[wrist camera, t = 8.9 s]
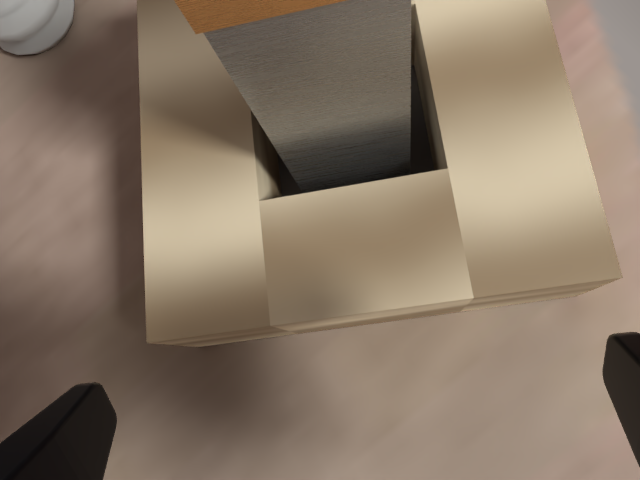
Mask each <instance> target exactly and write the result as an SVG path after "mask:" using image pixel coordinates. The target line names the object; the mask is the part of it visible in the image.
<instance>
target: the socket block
mask: <svg viewBox="0 0 640 480" xmlns="http://www.w3.org/2000/svg"><path fill="white" fill-rule="evenodd" d="M137 24H138V60H139V95H140V131H141V167H142V203H143V239H144V275H145V310H146V343H152V344H165V345H177V346H190V347H203V346H211V345H218V344H225V343H233V342H240V341H248V340H255V339H263V338H270V337H277V336H285V335H292V334H300V333H307V332H315V331H322V330H330V329H337V328H344V327H352V326H359V325H367V324H374V323H382V322H389V321H396V320H404V319H411V318H419V317H426V316H434V315H441V314H449V313H456V312H463V311H471V310H478V309H486V308H493V307H501V306H508V305H515V304H523V303H530V302H538V301H545V300H553V299H560V298H567V297H575V296H578V295H581V294H583V293H586V292H588V291H591V290H593V289H596V288H598V287H600V286H603V285H605V284H608V283H610V282H613V281H615V280H618V279H620V278H623V277H622V273H621V269H620V266H619V262H618V259H617V255H616V252H615V248H614V244H613V241H612V237H611V234H610V230H609V226H608V223H607V219H606V216H605V212H604V208H603V205H602V201H601V198H600V194H599V191H598V187H597V183H596V180H595V176H594V173H593V169H592V165H591V162H590V158H589V155H588V151H587V147H586V144H585V140H584V137H583V133H582V130H581V126H580V122H579V119H578V115H577V112H576V108H575V104H574V101H573V97H572V94H571V90H570V86H569V83H568V79H567V76H566V72H565V69H564V65H563V61H562V58H561V54H560V51H559V47H558V43H557V40H556V36H555V33H554V29H553V25H552V22H551V18H550V15H549V11H548V8H547V4H546V0H411V137H410V175H407V176H401V177H395V178H389V179H384V180H378V181H372V182H366V183H361V184H355V185H349V186H343V187H337V188H332V189H326V190H320V191H314V192H309V193H302V191H301V189H300V188H299V186H298V184H297V183H296V181H295V180H294V178H293V176H292V175H291V173H290V172H289V170H288V168H287V167H286V165H285V164H284V162H283V160H282V159H281V157H280V156H279V154H278V152H277V151H276V149H275V147H274V146H273V144H272V143H271V141H270V139H269V138H268V136H267V135H266V133H265V131H264V130H263V128H262V127H261V125H260V123H259V122H258V120H257V119H256V117H255V115H254V114H253V112H252V111H251V109H250V107H249V106H248V104H247V102H246V101H245V99H244V98H243V96H242V94H241V93H240V91H239V90H238V88H237V86H236V85H235V83H234V82H233V80H232V78H231V77H230V75H229V74H228V72H227V70H226V69H225V67H224V66H223V64H222V62H221V61H220V59H219V57H218V56H217V54H216V53H215V51H214V49H213V48H212V46H211V45H210V43H209V41H208V40H207V38H206V37H205V35H204V33H200V34H195V32H194V31H193V29H192V27H191V26H190V24H189V23H188V21H187V20H186V18H185V17H184V15H183V14H182V12H181V10H180V9H179V7H178V6H177V4H176V3H175V1H174V0H137Z"/></svg>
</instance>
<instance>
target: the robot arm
mask: <svg viewBox="0 0 640 480" xmlns="http://www.w3.org/2000/svg"><path fill="white" fill-rule="evenodd" d="M603 380H604V383H605V386H606V388H607V391H608V393H609V396H610V398H611V400H612V403H613V405H614V408H615V410H616V412H617V415H618V417H619V420H620V422H621V424H622V427H623V429H624V432H625V434H626V436H627V439H628V441H629V444H630V446H631V448H632V451H633V453H634V455H635V458H636V460H637V462H638V464H639V467H640V333H637V332H626V333H616V334H612V335H610V336H609V338H608V340H607V344H606V351H605V357H604V364H603ZM116 423H117V418H116V413H115V410H114V408H113V406H112V404H111V402H110V400H109V398H108V396H107V394H106V392H105V390H104V388H103V387H102V385H100V384H99V383H96V382H94V383H83V384H78V385H75V386H74V387H72V388H71V389H70V390H68V391H67V392H66V393H64V394H63V395H62V396H61V397H59V398H58V399H57V400H55V401H54V402H53V403H52V404H50V405H49V406H48V407H46V408H45V409H44V410H42V411H41V412H40V413H39V414H37V415H36V416H35V417H33V418H32V419H31V420H30V421H28V422H27V423H26V424H24V425H23V426H22V427H21V428H19V429H18V430H17V431H15V432H14V433H13V434H11V435H10V436H9V437H8V438H6V439H5V440H4V441H2V442H1V443H0V480H103V477H104V473H105V469H106V465H107V461H108V457H109V453H110V449H111V445H112V441H113V437H114V433H115V429H116Z"/></svg>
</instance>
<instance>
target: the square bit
mask: <svg viewBox="0 0 640 480" xmlns="http://www.w3.org/2000/svg"><path fill="white" fill-rule="evenodd" d="M174 1H175V3H176V4H177V6H178V7H179V9H180V10H181V12H182V14H183V15H184V17H185V18H186V20H187V21H188V23H189V24H190V26H191V27H192V29H193V31H194V32H195V34H200V33H204V35H205V37H206V38H207V40H208V41H209V43H210V45H211V46H212V48H213V49H214V51H215V53H216V54H217V56H218V57H219V59H220V61H221V62H222V64H223V66H224V67H225V69H226V70H227V72H228V74H229V75H230V77H231V78H232V80H233V82H234V83H235V85H236V86H237V88H238V90H239V91H240V93H241V94H242V96H243V98H244V99H245V101H246V102H247V104H248V106H249V107H250V109H251V111H252V112H253V114H254V115H255V117H256V119H257V120H258V122H259V123H260V125H261V127H262V128H263V130H264V131H265V133H266V135H267V136H268V138H269V139H270V141H271V143H272V144H273V146H274V147H275V149H276V151H277V152H278V154H279V156H280V157H281V159H282V160H283V162H284V164H285V165H286V167H287V168H288V170H289V172H290V173H291V175H292V176H293V178H294V180H295V181H296V183H297V184H298V186H299V188H300V189H301V191H302V193H309V192H314V191H320V190H326V189H332V188H337V187H343V186H349V185H355V184H361V183H366V182H372V181H378V180H384V179H389V178H395V177H401V176H407V175H410V137H411V0H174Z"/></svg>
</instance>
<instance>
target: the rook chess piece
mask: <svg viewBox="0 0 640 480" xmlns="http://www.w3.org/2000/svg"><path fill="white" fill-rule="evenodd" d="M73 16H74V0H0V47H1V48H2V49H3V50H4V51H7V52H10V53H13V54H16V55H29V54H38V53H42V52H44V51H46V50H48V49H50V48H53V47H54V46H55V45H57V44H58V43H59V42H60V41H61V40H62V39H63V38H64V37H65V36H66V34H67V32H68V30H69V29H70V27H71V25H72V23H73Z"/></svg>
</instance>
